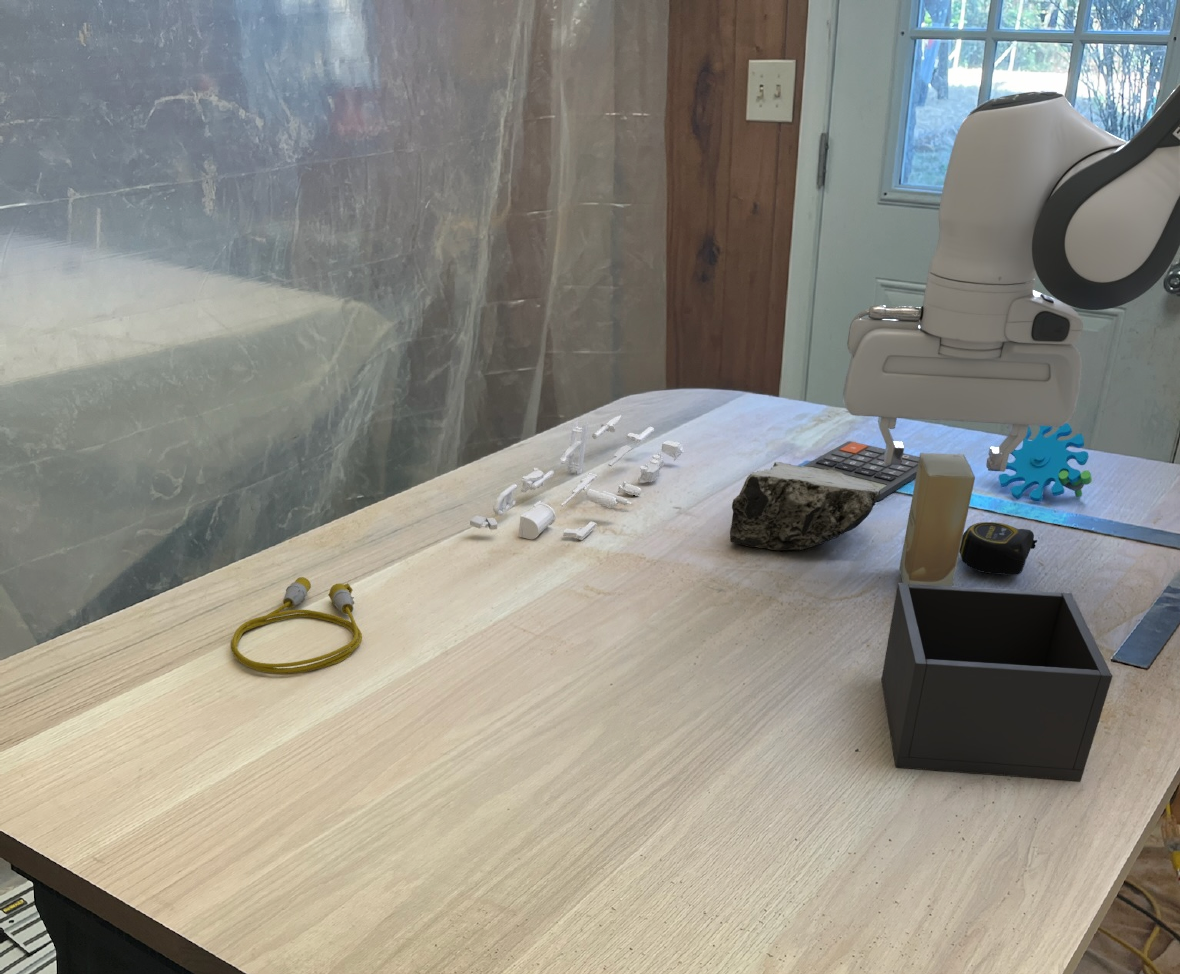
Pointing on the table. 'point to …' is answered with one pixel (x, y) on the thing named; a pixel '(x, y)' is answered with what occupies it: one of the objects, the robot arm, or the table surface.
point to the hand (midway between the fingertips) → (943, 466)
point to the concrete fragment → (799, 507)
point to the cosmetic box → (936, 519)
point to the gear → (1047, 464)
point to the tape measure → (996, 548)
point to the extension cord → (291, 599)
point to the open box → (992, 682)
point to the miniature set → (545, 515)
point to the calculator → (868, 466)
